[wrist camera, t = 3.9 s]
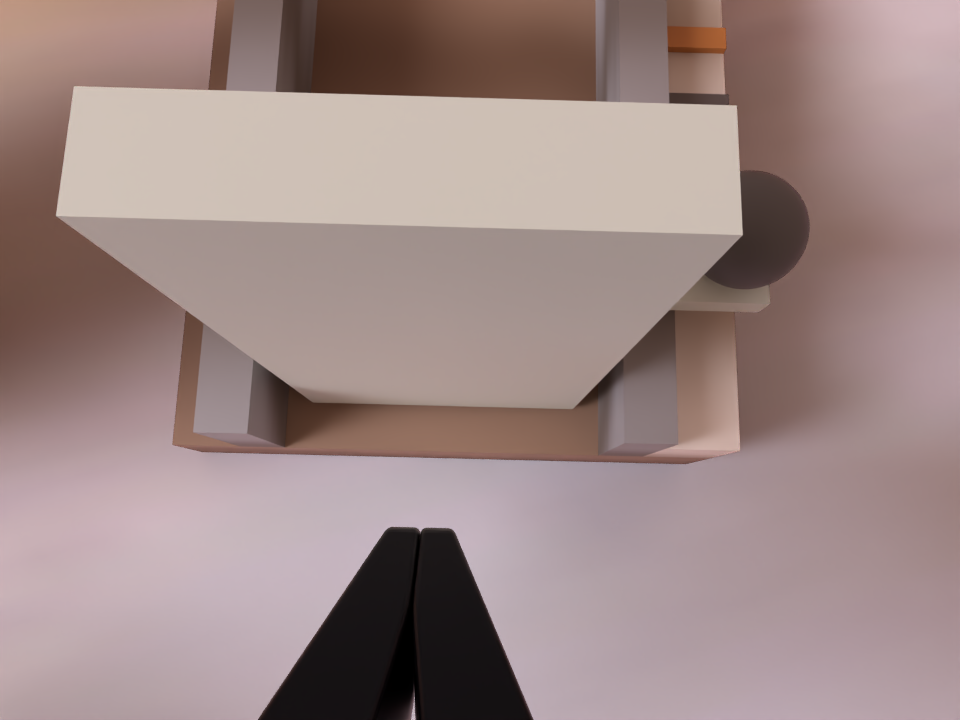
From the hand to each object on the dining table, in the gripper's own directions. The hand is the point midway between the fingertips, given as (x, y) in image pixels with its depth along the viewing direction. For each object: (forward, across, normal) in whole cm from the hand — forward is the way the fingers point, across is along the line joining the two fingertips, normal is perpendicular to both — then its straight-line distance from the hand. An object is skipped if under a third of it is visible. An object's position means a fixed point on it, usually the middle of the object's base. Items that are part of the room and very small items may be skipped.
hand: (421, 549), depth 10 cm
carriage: (+9, -2, +1) cm, 9 cm away
